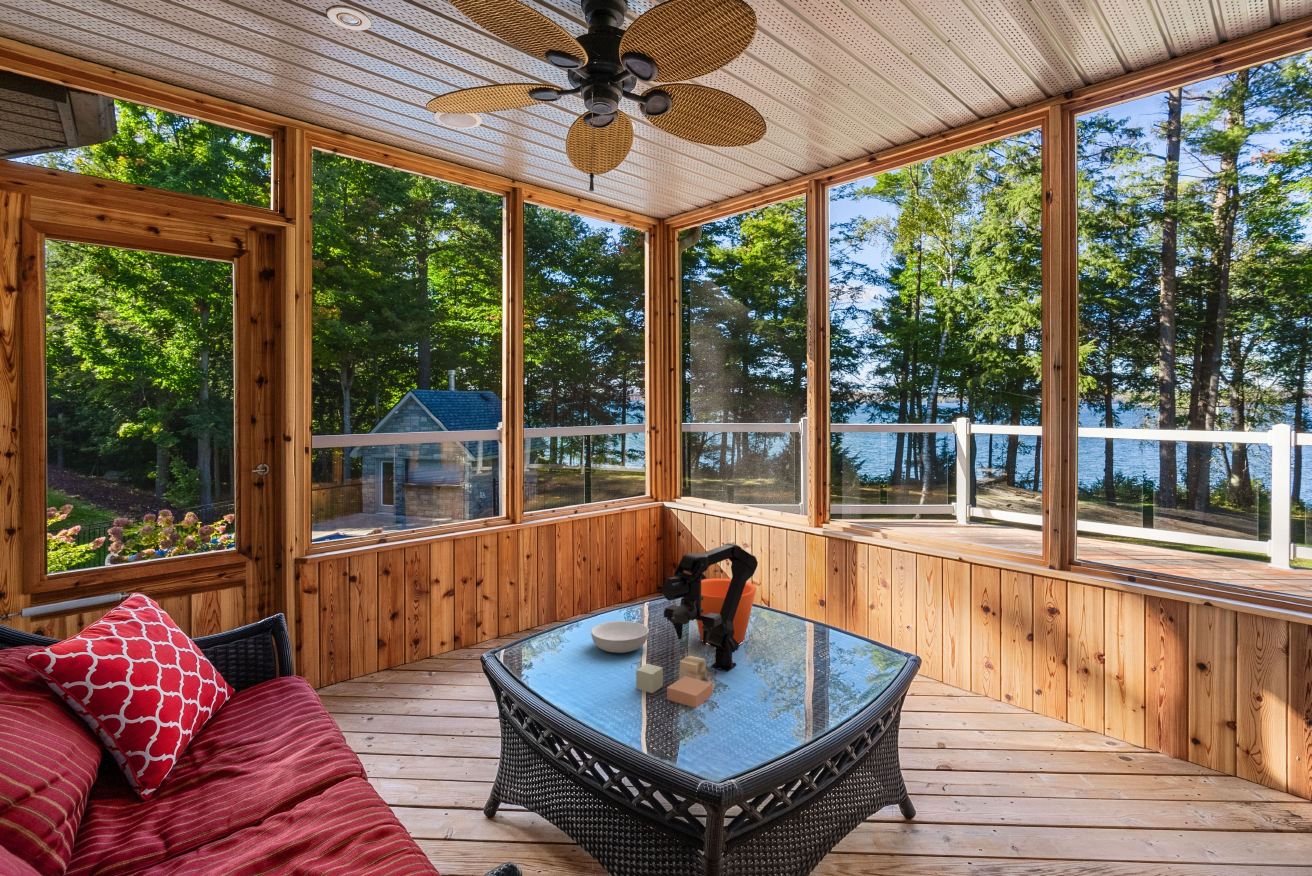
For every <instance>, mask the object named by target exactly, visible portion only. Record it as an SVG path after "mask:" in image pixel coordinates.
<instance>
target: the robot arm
mask: <svg viewBox="0 0 1312 876" xmlns="http://www.w3.org/2000/svg"><path fill="white" fill-rule="evenodd" d="M726 560H729V561H730V562H731V564H730V570H731V575H732V577H731V578H730V579H731V582H730V585H729V588H728V591H727V594H726V597H725V600H724V603H723V606H722V609H721V611H720V614H716V613H711V612H710V613H709V614H707V615H702V614H701V613H702V612H703V609H701V600H703V596H701V580H704V579H707V576H706V575H705V574H704V573H705V572H706V571H708V569H709V567H711V566H713V565H715V564H718V563H720V562H724V561H726ZM758 565H759V562H758V560H757V557H756V556H755V555H753V554H751V553H749V552H748V551H746V550H745V549H743V548H742V547H741V546H740V545H738V544H736V543H732V542H727V543H725V544H723V545H720V546H718V547H715V548H712V549H710V550H706V551H703V552H700V553H699V552H693V553H691V552H690V553H685V554H684V555H683V556H682V557H681V559H680V561H679V563H678V565H677V568H676V569H675V572H674V573H673V577H667V579H666V580H667V581H666V582H665V583H664V584H663V586H662V594H663V596H664V598H665V600H667V601H675V600H678V599H680V605H675V604H672V605H670V606H667V607H666V608H665V609H664V610H663V618H666V620H667V621H669V622H670V623H671V624H672V625H673V627H674V629H675V633H676V636H677V638H678V640H681V639H683V638H682V637H683V627H684V625H687V624H689V622H690V621H694V620H695V621H697V620H700V621H702V623H703V625H704V626H702V628H703V642H702V644H703V646H706V645H707V644H706V643H707V641H709V643H710V645H709V646H710V647H712V648H714V649H715V650H714V655H715V656H714V658H715V659H714V662H713V664H711V668H715V669H718V670H722V671H726V672H729V671H730V670H732V669H733V668H734V667H736V666H737V663H736V662H733V653H736V651H738V650H739V647H740V645H739V643H738V642H737V641H736V640H735V639H734V638H733V636H734V627H733V620H734V617H735V614H736V611H737V608H738V605H739V602H740V599H741V596H742V593H743V590H744V587H745V584H746V582H748V581H749V580H750V579H751V578H752V577H753V575H755V572H756V570H757V568H758Z"/></svg>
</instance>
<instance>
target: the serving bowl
mask: <svg viewBox="0 0 1312 876" xmlns="http://www.w3.org/2000/svg"><path fill="white" fill-rule="evenodd" d="M649 631H650V629H649V627H648V626H646V625H645V624H642V623H639V622H636V621H628V620H625V621H624V620H615V621H614V620H613V621H607V622H603V623H599V624H596V625H595V626H593V628H591V630H590V633H591V634H590V635H591V639H592V642H593V644H595V646H596V647H598V648H599V649H600V650H602V651H605V652H609V653H613V654H615V653H616V654H622V653H623V654H624V653H629V652H632V651H636V650H638V649H639V648H642V647H643V645H644V644H645V643H646V642H647V640H648V637H649V634H650V633H649Z"/></svg>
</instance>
